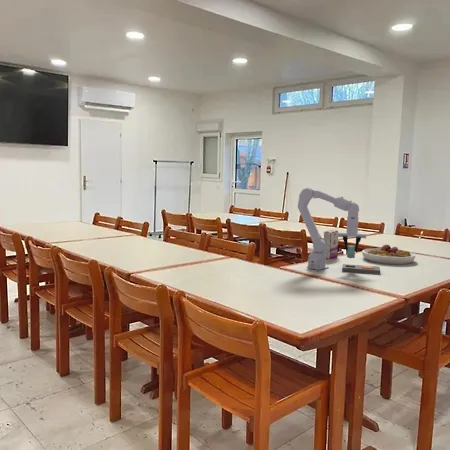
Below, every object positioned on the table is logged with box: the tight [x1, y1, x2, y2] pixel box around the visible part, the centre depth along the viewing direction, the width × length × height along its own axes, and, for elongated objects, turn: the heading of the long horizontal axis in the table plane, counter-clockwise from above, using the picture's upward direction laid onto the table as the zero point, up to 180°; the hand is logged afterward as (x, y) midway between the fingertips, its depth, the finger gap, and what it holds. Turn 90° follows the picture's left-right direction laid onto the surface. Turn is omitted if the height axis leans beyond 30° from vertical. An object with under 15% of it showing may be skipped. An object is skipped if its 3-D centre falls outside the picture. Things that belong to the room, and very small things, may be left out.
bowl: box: [361, 244, 416, 265], centre depth 271 cm, size 30×30×8 cm
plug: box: [346, 245, 356, 259], centre depth 241 cm, size 4×4×6 cm
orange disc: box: [361, 265, 375, 269], centre depth 239 cm, size 7×7×1 cm
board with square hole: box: [341, 263, 381, 275], centre depth 240 cm, size 19×10×2 cm, turn 74°
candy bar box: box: [323, 229, 339, 260], centre depth 275 cm, size 11×5×16 cm, turn 143°
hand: (351, 250), depth 241 cm, fingers closed on plug, 4 cm apart
